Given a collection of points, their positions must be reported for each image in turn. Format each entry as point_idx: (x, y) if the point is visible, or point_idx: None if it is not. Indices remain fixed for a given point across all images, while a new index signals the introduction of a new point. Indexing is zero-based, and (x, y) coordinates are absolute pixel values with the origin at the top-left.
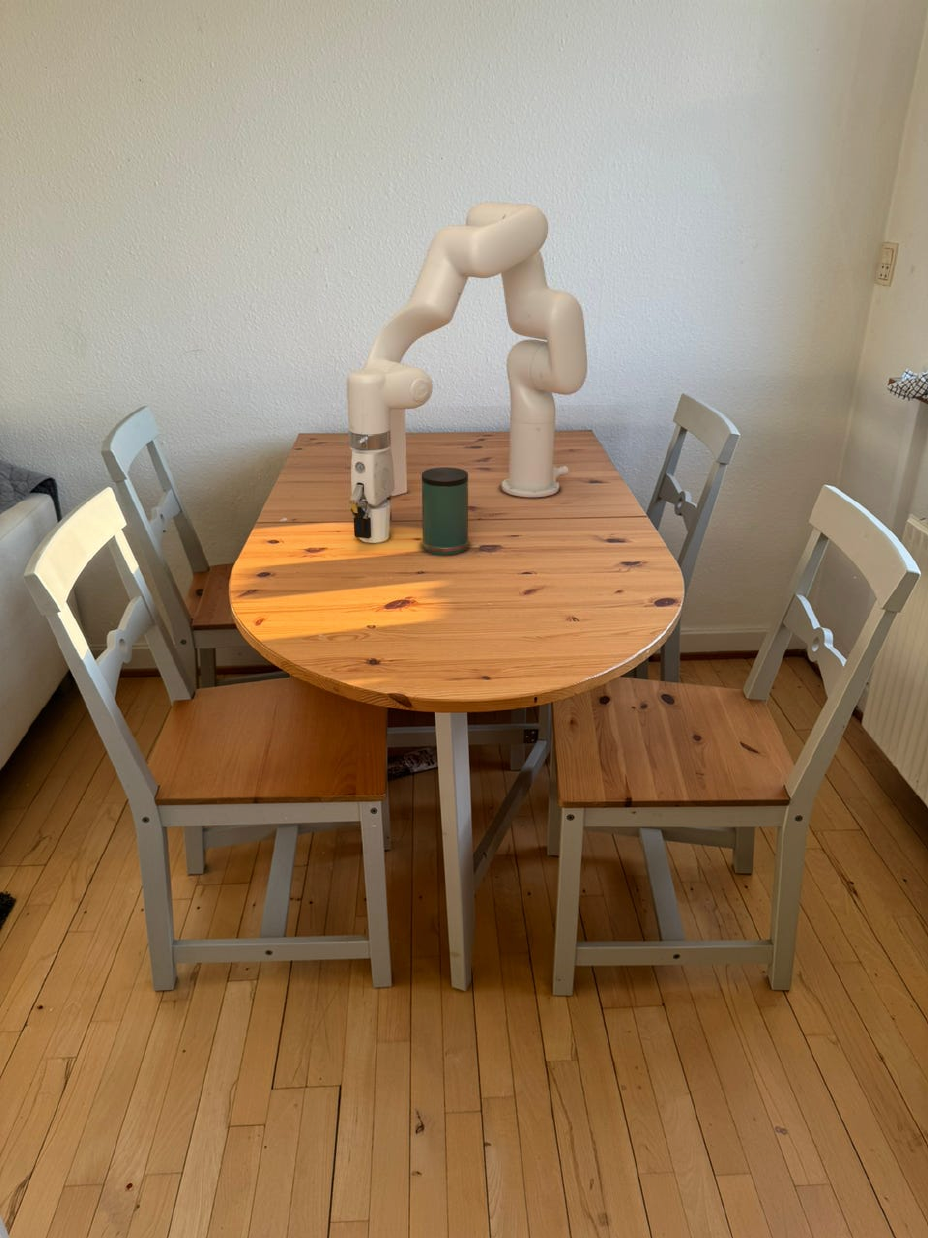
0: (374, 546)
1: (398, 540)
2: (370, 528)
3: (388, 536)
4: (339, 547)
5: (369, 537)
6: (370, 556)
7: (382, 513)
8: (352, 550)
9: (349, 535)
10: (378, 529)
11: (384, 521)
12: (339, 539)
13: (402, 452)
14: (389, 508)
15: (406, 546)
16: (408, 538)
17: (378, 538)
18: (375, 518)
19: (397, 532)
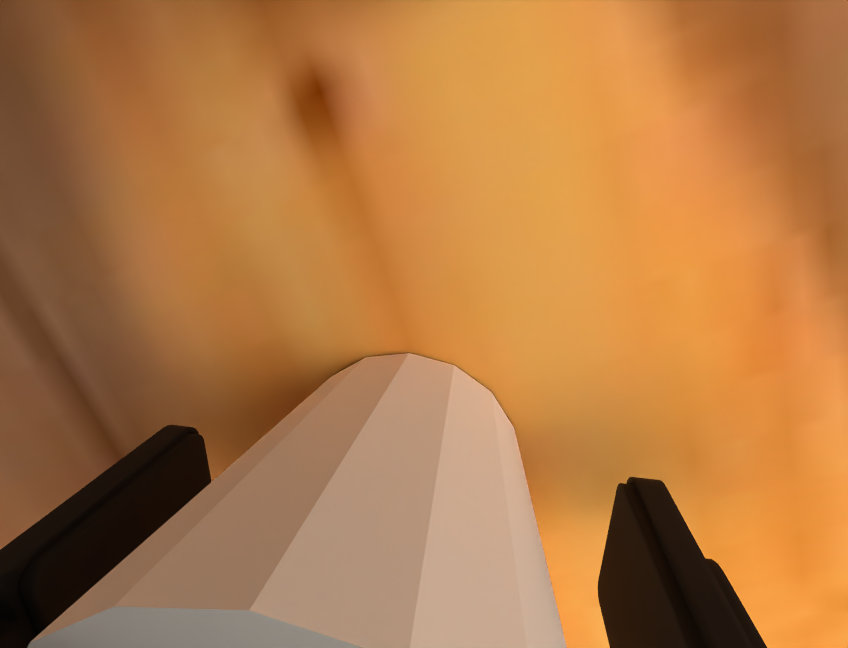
0: (585, 402)
1: (403, 263)
2: (680, 552)
3: (381, 359)
4: None
5: (661, 486)
6: (835, 368)
7: (470, 584)
8: (703, 523)
9: None
10: (507, 463)
11: (445, 465)
12: None
13: None
14: (281, 546)
15: (521, 137)
16: (331, 195)
17: (497, 414)
18: (546, 601)
19: (251, 327)
